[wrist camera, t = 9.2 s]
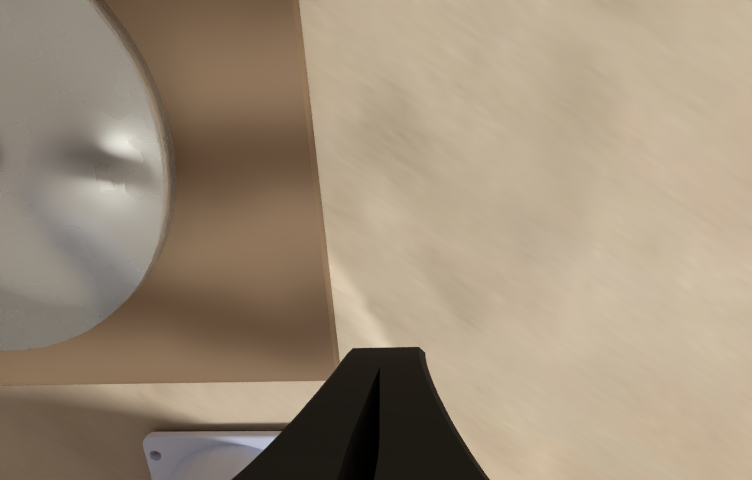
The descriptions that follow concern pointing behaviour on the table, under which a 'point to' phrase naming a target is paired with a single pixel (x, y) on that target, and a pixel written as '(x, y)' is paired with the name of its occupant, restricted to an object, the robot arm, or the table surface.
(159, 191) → the disc with block handle
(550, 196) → the table surface
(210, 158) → the flat brown board
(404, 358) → the robot arm
